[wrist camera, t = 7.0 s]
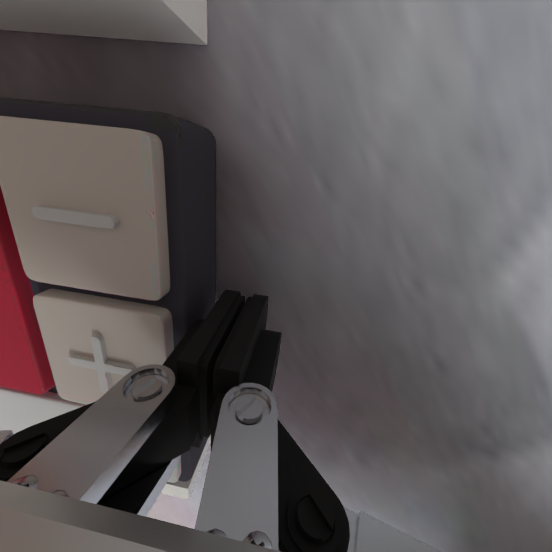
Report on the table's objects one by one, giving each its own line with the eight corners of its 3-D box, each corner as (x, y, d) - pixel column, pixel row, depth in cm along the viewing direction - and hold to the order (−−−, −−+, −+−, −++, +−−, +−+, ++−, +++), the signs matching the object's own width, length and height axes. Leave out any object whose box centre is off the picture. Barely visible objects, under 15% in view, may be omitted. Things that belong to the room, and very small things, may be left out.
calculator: (163, 105, 6) (183, 504, 12) (225, 132, 10) (217, 419, 16) (-229, 69, 7) (-35, 451, 13) (-31, 107, 11) (49, 384, 17)
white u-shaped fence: (210, 441, 16) (188, 499, 13) (12, 398, 17) (-44, 443, 15) (206, 1, 8) (144, -85, 5) (-181, -22, 9) (-402, -101, 6)
